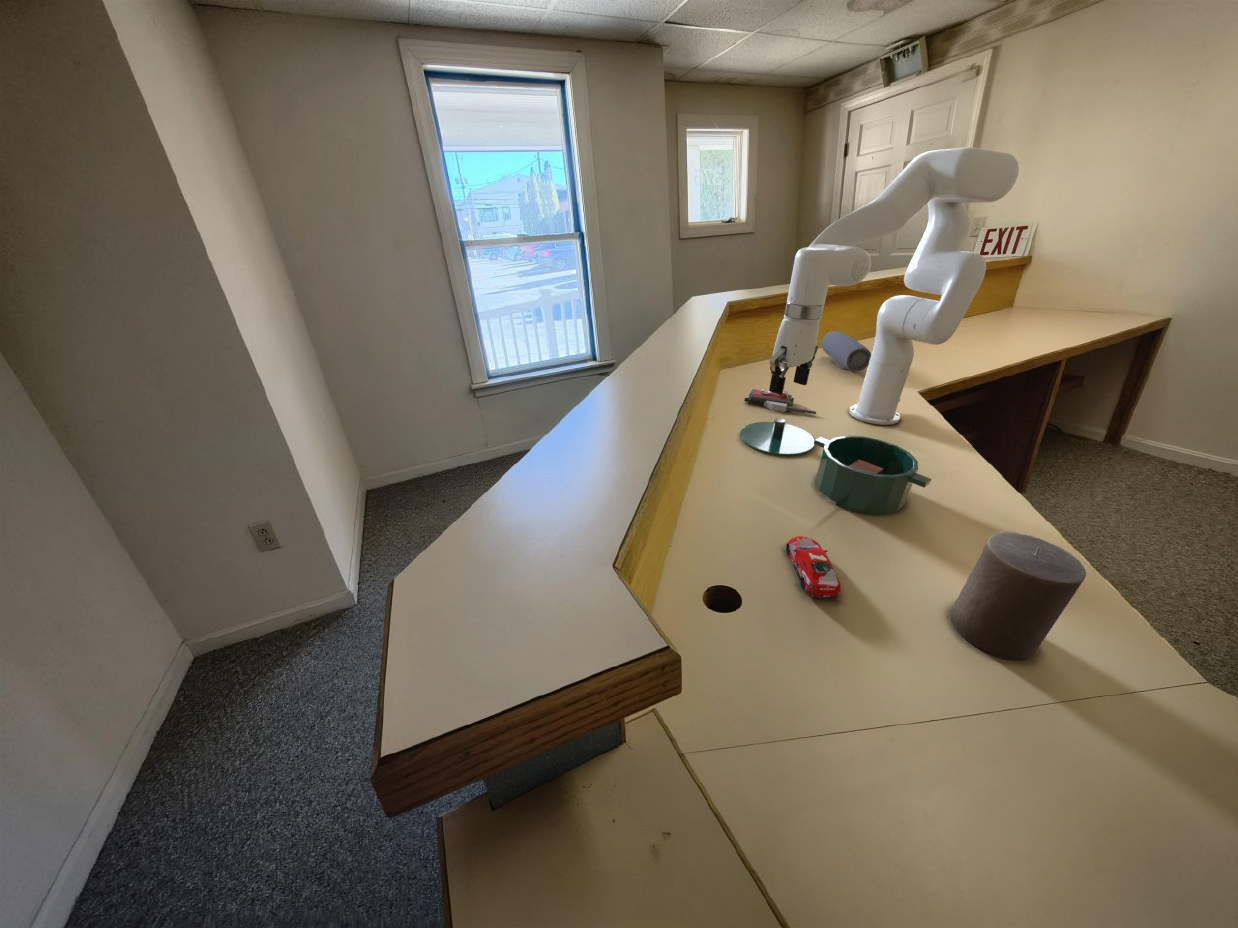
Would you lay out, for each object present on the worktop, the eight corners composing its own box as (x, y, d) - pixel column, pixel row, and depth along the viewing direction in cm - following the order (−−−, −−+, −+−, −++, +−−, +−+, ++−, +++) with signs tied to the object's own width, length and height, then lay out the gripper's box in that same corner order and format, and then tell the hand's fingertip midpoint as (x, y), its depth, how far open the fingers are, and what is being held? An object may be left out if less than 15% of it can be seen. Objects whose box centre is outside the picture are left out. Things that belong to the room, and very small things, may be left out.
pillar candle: (1006, 671, 57) (1064, 585, 50) (933, 616, 65) (974, 534, 58) (1051, 645, 61) (1112, 561, 53) (977, 595, 69) (1020, 515, 61)
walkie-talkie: (741, 406, 132) (814, 419, 124) (743, 392, 129) (818, 404, 122) (748, 396, 138) (817, 407, 131) (750, 382, 136) (821, 393, 129)
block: (853, 479, 96) (859, 459, 94) (876, 489, 93) (884, 468, 90) (840, 487, 94) (847, 466, 91) (864, 498, 90) (871, 477, 88)
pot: (829, 457, 105) (838, 424, 101) (932, 500, 90) (948, 463, 86) (788, 481, 96) (795, 446, 92) (895, 533, 81) (910, 493, 77)
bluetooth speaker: (868, 375, 155) (877, 346, 150) (841, 375, 155) (848, 346, 150) (841, 355, 174) (847, 329, 169) (816, 355, 174) (822, 329, 169)
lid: (767, 420, 124) (771, 400, 121) (828, 443, 112) (833, 422, 109) (725, 438, 114) (727, 417, 111) (786, 466, 102) (790, 443, 99)
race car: (782, 544, 79) (786, 526, 77) (813, 545, 79) (818, 527, 77) (804, 601, 68) (810, 582, 66) (842, 603, 67) (848, 583, 65)
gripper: (809, 304, 104) (794, 376, 112) (764, 313, 94) (751, 391, 103) (841, 309, 99) (822, 384, 107) (796, 320, 89) (780, 401, 98)
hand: (788, 388), depth 105 cm, fingers open, 9 cm apart
